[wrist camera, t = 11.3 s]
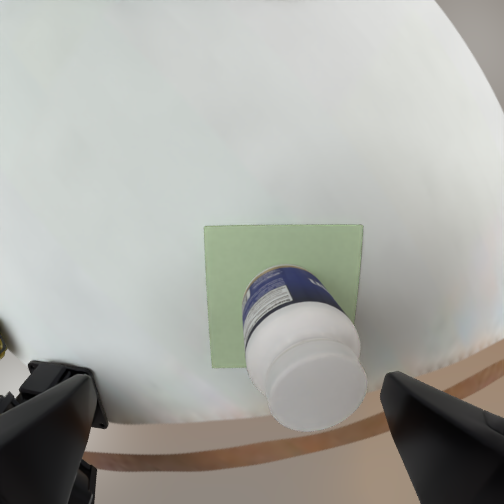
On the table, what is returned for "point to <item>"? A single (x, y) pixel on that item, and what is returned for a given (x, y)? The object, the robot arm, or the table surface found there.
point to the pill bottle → (301, 349)
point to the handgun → (2, 347)
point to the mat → (267, 255)
